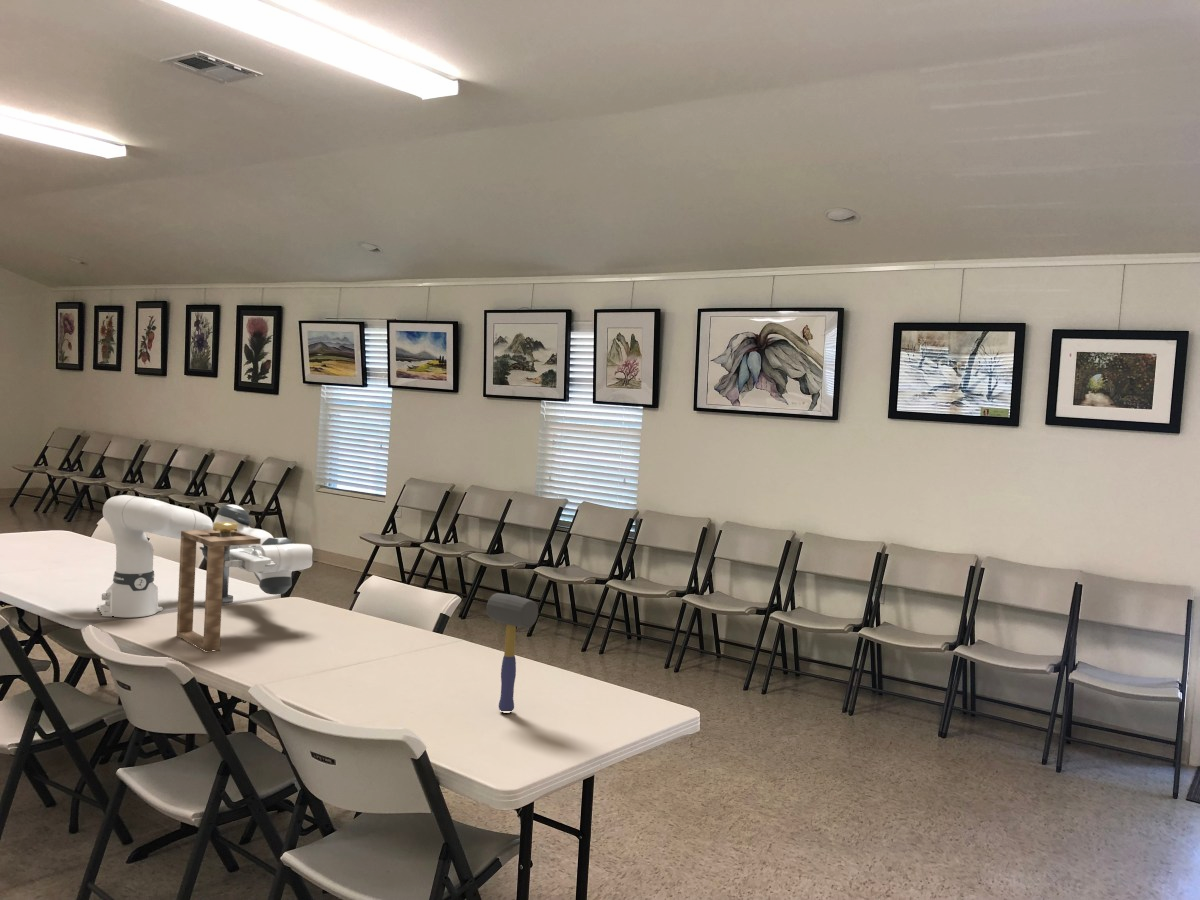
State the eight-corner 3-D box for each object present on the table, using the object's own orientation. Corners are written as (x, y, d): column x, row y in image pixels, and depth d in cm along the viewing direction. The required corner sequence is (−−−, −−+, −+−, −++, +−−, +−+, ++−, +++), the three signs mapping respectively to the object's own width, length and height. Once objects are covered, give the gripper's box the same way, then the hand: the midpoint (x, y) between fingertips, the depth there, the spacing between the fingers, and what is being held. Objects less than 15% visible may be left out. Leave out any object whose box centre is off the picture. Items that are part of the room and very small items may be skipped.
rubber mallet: (477, 710, 239) (484, 593, 238) (497, 703, 245) (504, 589, 244) (514, 722, 232) (521, 601, 230) (534, 715, 238) (541, 597, 236)
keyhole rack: (224, 629, 300) (229, 528, 299) (255, 645, 285) (260, 538, 283) (176, 635, 290) (181, 531, 288) (205, 652, 274) (210, 541, 273)
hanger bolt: (206, 600, 288) (209, 522, 287) (228, 598, 293) (232, 521, 292) (215, 604, 283) (219, 525, 282) (238, 602, 288) (242, 524, 287)
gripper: (279, 575, 289) (235, 578, 279) (250, 564, 304) (207, 567, 294) (280, 554, 289) (236, 557, 279) (251, 544, 303) (208, 547, 293)
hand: (221, 562), depth 287 cm, fingers closed on hanger bolt, 3 cm apart
